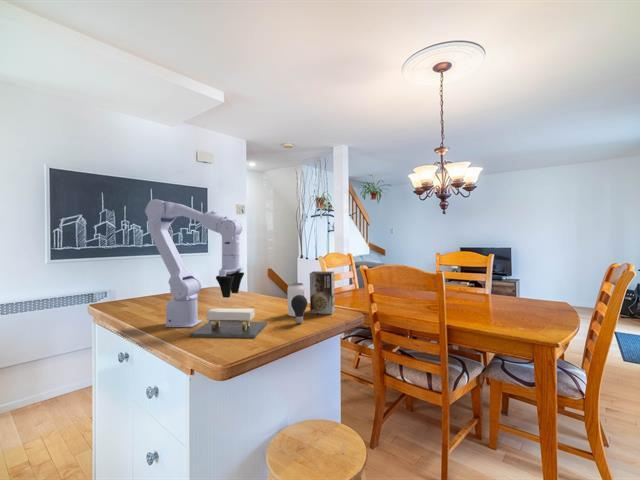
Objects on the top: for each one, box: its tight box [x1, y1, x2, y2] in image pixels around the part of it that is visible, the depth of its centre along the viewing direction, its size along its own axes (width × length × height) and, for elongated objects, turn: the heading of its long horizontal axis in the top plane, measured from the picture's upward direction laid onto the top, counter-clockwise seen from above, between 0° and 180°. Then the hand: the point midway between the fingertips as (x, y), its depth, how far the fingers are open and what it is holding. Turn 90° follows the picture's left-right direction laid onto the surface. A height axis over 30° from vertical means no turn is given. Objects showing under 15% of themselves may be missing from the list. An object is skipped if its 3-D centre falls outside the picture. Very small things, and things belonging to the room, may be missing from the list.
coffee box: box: [309, 270, 336, 315], centre depth 122 cm, size 9×6×16 cm
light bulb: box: [291, 295, 308, 325], centre depth 105 cm, size 6×6×10 cm
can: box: [287, 282, 305, 318], centre depth 118 cm, size 6×6×12 cm
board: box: [206, 307, 256, 321], centre depth 98 cm, size 14×5×2 cm, turn 86°
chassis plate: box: [189, 320, 268, 339], centre depth 98 cm, size 20×14×4 cm
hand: (230, 295), depth 103 cm, fingers open, 7 cm apart
